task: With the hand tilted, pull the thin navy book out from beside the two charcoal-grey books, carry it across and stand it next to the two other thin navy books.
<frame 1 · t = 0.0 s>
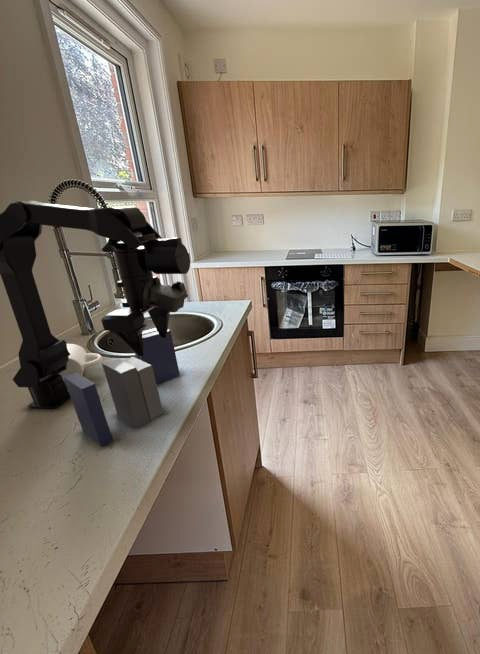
hand: (153, 346, 75), 15 cm above the countertop, tool pointing down, fingers open, 9 cm apart
navy book: (97, 436, 70), on the countertop
grey books: (133, 389, 74), on the countertop
navy books: (156, 356, 89), on the countertop
mug: (80, 376, 94), on the countertop
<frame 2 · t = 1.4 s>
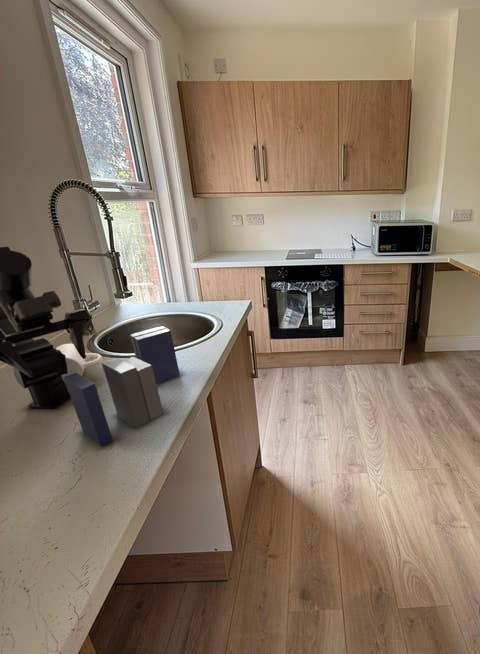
hand: (59, 366, 69), 13 cm above the countertop, tool tilted 45°, fingers open, 9 cm apart
nothing on the countertop moved.
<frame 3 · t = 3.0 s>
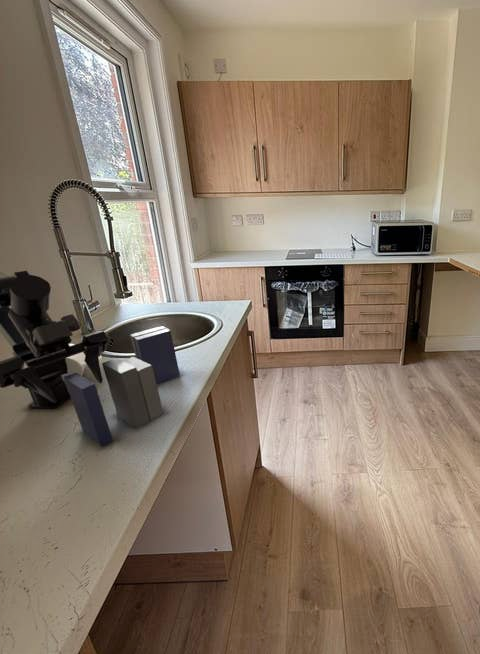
hand: (79, 391, 68), 10 cm above the countertop, tool tilted 45°, fingers open, 8 cm apart
nothing on the countertop moved.
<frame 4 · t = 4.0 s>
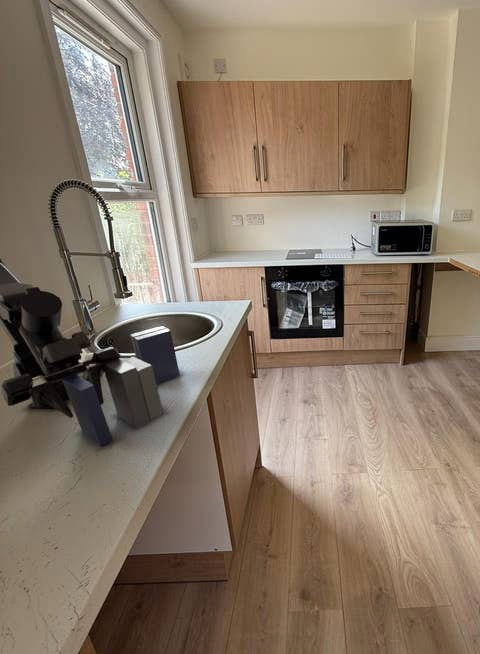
hand: (87, 410, 66), 7 cm above the countertop, tool tilted 45°, fingers open, 5 cm apart
navy book: (97, 436, 70), on the countertop, touching gripper
everything else where it was.
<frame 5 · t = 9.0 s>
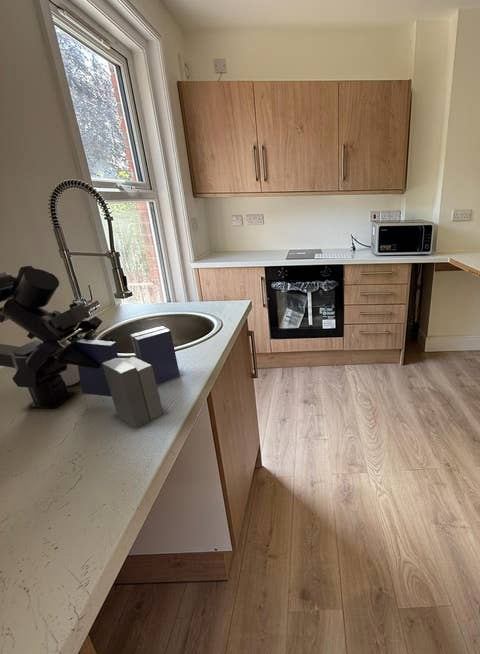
hand: (102, 364, 79), 9 cm above the countertop, tool tilted 45°, fingers closed on navy book, 2 cm apart
navy book: (102, 393, 81), point 2 cm above the countertop, tilted 7°, touching gripper
everything else where it was.
when the fingers open (8 cm above the countertop, at t = 13.6 s): navy book stays where it is, point 1 cm above the countertop.
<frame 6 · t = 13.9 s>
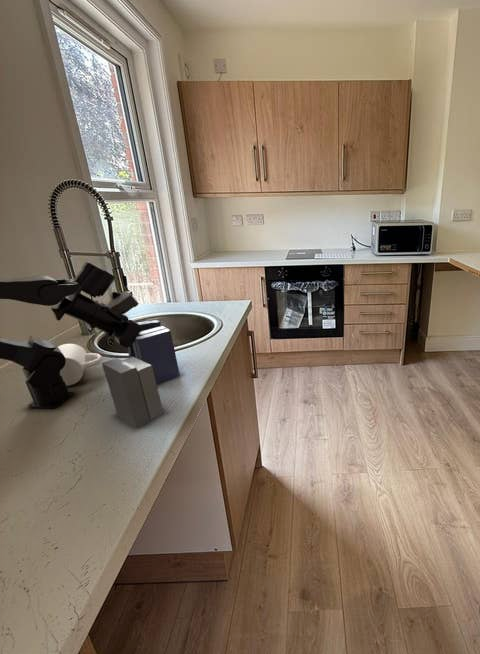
hand: (148, 340, 95), 8 cm above the countertop, tool tilted 45°, fingers open, 4 cm apart
navy book: (147, 367, 96), point 1 cm above the countertop, tilted 7°, touching gripper
everything else where it was.
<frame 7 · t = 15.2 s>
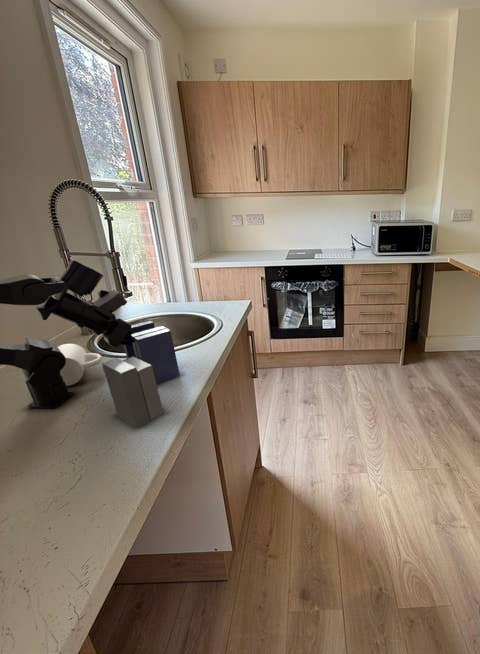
hand: (137, 339, 93), 9 cm above the countertop, tool tilted 45°, fingers open, 7 cm apart
navy book: (147, 368, 97), on the countertop
everything else where it was.
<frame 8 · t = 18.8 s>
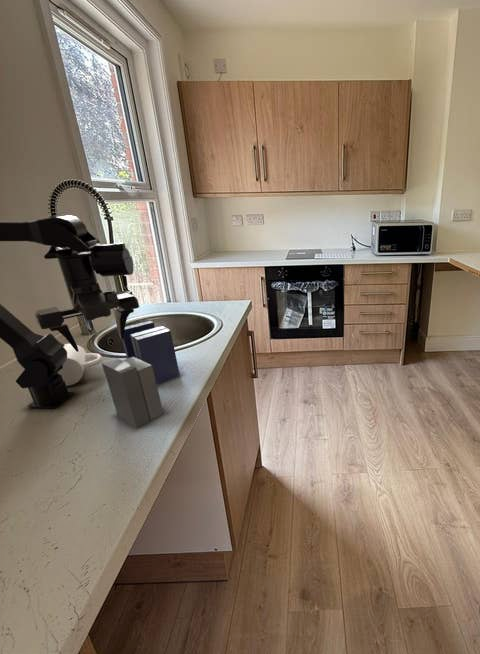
hand: (100, 344, 80), 13 cm above the countertop, tool pointing down, fingers open, 9 cm apart
nothing on the countertop moved.
at the end: navy book 0.6 cm from the navy books (horizontally); navy book tilted 0°; the gripper is holding nothing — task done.
